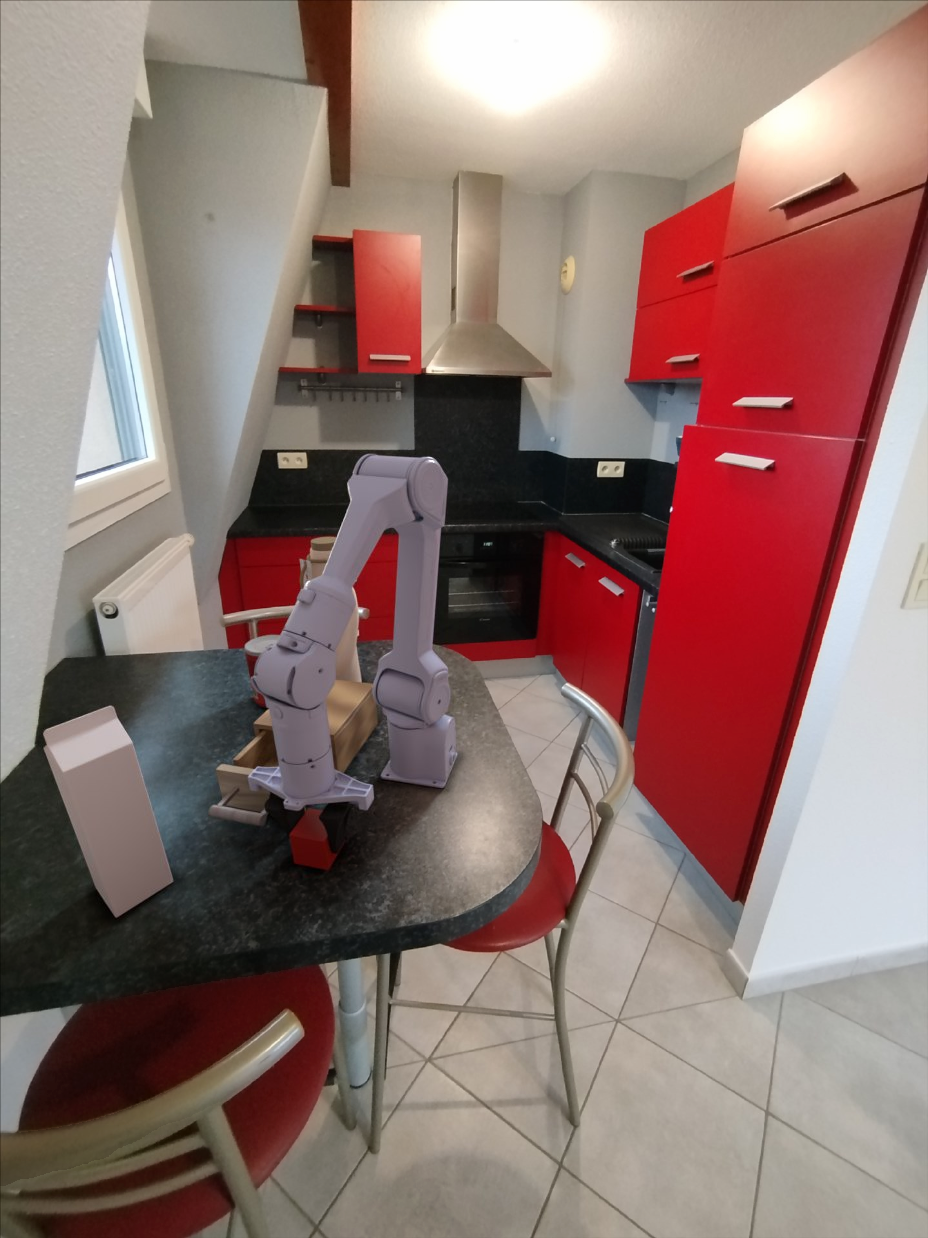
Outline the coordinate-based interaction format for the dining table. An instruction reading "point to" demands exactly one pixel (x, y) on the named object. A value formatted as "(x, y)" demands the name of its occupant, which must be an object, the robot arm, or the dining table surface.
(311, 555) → the water bottle
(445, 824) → the dining table surface
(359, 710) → the cabinet
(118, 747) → the milk
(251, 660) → the canned food
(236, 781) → the drawer
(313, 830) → the block
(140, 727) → the dining table surface
